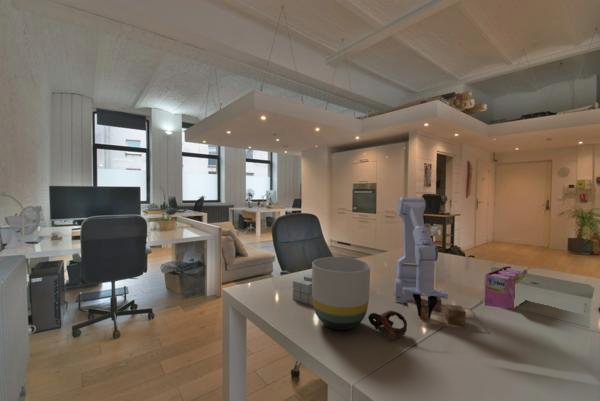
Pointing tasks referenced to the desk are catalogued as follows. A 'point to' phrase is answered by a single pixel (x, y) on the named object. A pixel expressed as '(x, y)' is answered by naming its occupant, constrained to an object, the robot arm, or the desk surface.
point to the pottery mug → (388, 323)
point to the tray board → (465, 318)
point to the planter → (340, 291)
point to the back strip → (441, 310)
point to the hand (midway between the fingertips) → (424, 316)
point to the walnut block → (455, 315)
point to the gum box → (502, 287)
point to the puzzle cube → (303, 290)
